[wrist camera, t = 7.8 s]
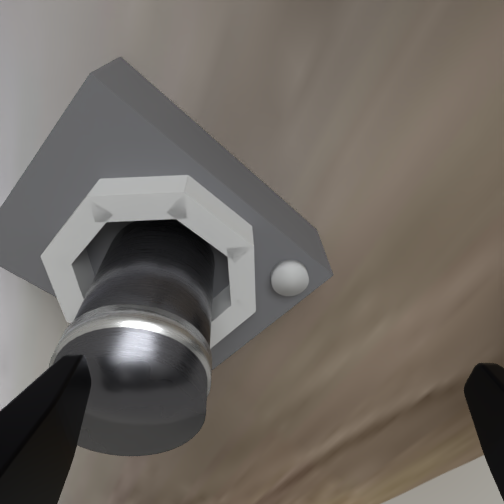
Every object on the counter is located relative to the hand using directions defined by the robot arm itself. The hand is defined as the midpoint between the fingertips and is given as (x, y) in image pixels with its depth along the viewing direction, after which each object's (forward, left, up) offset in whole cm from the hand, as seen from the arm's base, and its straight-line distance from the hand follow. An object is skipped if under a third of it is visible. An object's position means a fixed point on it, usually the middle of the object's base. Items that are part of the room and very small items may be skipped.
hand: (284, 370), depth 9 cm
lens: (+2, +5, -8) cm, 9 cm away
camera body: (+2, +5, -12) cm, 13 cm away
